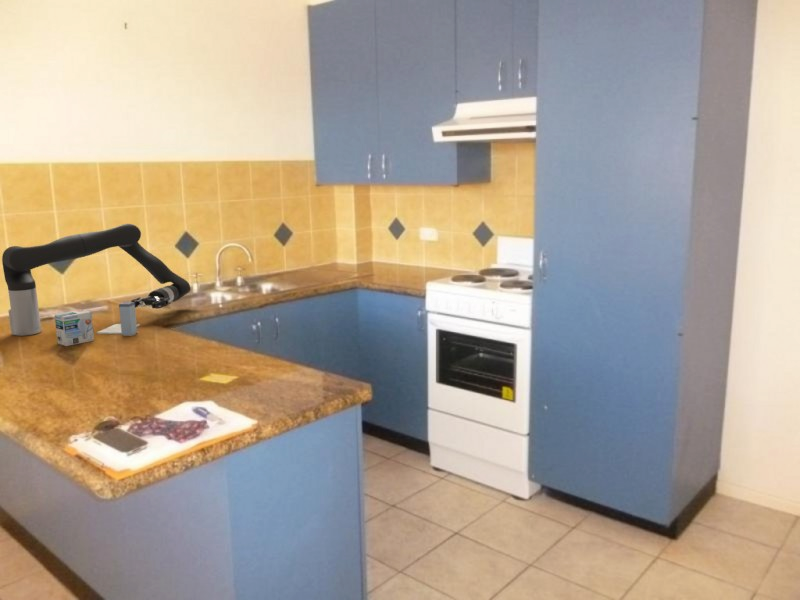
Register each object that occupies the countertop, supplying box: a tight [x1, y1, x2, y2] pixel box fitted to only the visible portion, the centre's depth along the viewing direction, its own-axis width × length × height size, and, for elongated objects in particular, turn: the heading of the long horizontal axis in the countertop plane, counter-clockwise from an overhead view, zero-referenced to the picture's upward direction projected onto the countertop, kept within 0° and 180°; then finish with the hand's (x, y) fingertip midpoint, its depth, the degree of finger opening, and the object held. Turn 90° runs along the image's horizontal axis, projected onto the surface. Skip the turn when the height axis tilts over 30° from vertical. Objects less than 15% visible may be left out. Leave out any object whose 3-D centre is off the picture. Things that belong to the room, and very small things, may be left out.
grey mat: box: [96, 323, 141, 335], centre depth 260 cm, size 10×14×1 cm
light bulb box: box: [54, 309, 95, 347], centre depth 241 cm, size 11×7×11 cm, turn 143°
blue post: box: [118, 301, 138, 337], centre depth 252 cm, size 4×4×12 cm
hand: (142, 305), depth 262 cm, fingers open, 8 cm apart
